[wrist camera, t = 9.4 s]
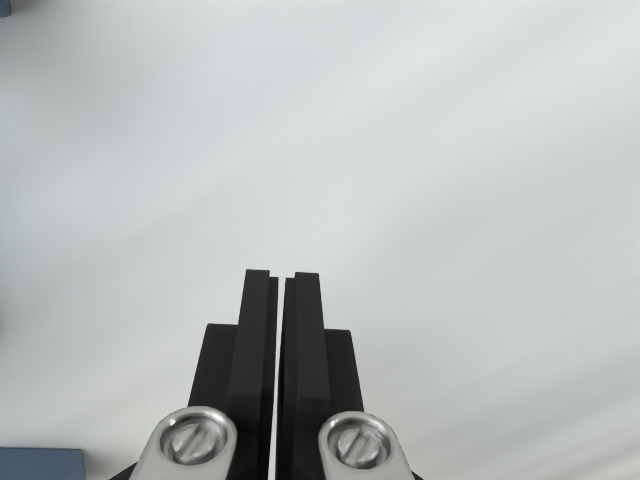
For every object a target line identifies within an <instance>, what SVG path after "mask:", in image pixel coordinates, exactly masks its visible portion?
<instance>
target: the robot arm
mask: <svg viewBox="0 0 640 480" xmlns="http://www.w3.org/2000/svg"><path fill="white" fill-rule="evenodd" d="M269 274H270V271H269V270H252V269H246V275H245V281H244V288H243V295H242V302H241V308H240V315H239V322H238V325H231V324H210V323H208V325H207V327H206V331H205V335H204V339H203V344H202V348H201V352H200V356H199V360H198V365H197V369H196V373H195V377H194V381H193V386H192V390H191V394H190V398H189V402H188V407H187V408H182V409H179V410H177V411H175V412H173V413H171V414H169V415H168V416H166V417H165V418H164V419H163V420H161V421H160V422H159V423H158V425H157V426H156V428H155V429H154V430H153V432H152V434H151V436H150V438H149V440H148V442H147V444H146V446H145V448H144V450H143V452H142V454H141V456H140V458H139V460H138V461H137V462H136V463H134V464H133V465H131V466H130V467H128V468H126V469H125V470H123V471H122V472H120V473H119V474H117V475H115V476H114V477H112V478H111V479H109V480H268V470H269V456H270V443H271V430H272V416H273V402H274V383H275V357H276V331H277V305H278V279H279V277H269ZM275 480H423V479H422V478H421V477H419V476H418V475H417V474H415V473H414V472H413V471H411V469H410V467H409V464H408V462H407V459H406V457H405V454H404V452H403V450H402V447H401V445H400V442H399V440H398V438H397V436H396V434H395V433H394V431H393V430H392V428H391V427H390V426H389V425H387V424H386V423H385V422H384V421H383V420H381V419H379V418H377V417H376V416H374V415H371V414H368V413H364V407H363V402H362V396H361V390H360V384H359V378H358V372H357V366H356V360H355V354H354V348H353V343H352V337H351V333H350V331H349V330H337V329H324V323H323V312H322V302H321V291H320V281H319V274H318V273H304V272H295V278H286V282H285V295H284V308H283V320H282V333H281V346H280V359H279V373H278V400H277V433H276V466H275Z"/></svg>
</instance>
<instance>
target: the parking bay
mask: <svg viewBox="0 0 640 480" xmlns="http://www.w3.org/2000/svg"><path fill="white" fill-rule="evenodd" d="M10 15H11V11H10V5H9V0H0V17H7V16H10ZM85 479H86V477H85V471H84V465H83V458H82V452H81V450H80V449H29V448H0V480H85Z"/></svg>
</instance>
